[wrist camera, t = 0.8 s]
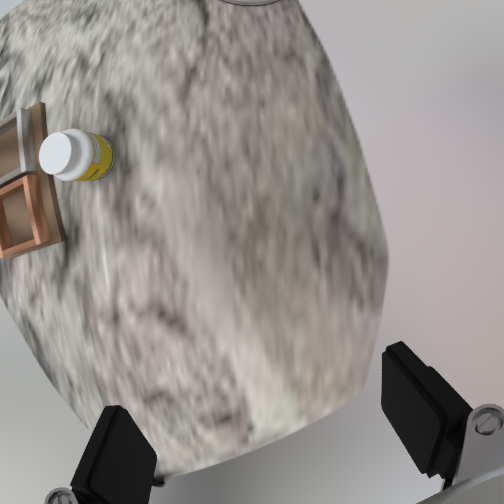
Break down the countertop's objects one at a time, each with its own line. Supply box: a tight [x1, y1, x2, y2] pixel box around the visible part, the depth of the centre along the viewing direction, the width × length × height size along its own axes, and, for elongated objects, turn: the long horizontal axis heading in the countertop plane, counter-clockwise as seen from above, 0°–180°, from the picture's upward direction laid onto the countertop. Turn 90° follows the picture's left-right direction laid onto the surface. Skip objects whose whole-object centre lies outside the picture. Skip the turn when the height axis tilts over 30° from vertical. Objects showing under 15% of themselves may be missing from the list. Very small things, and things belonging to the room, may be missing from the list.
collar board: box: [0, 102, 66, 260], centre depth 28 cm, size 19×12×4 cm, turn 11°
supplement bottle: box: [39, 129, 115, 181], centre depth 26 cm, size 5×5×10 cm
